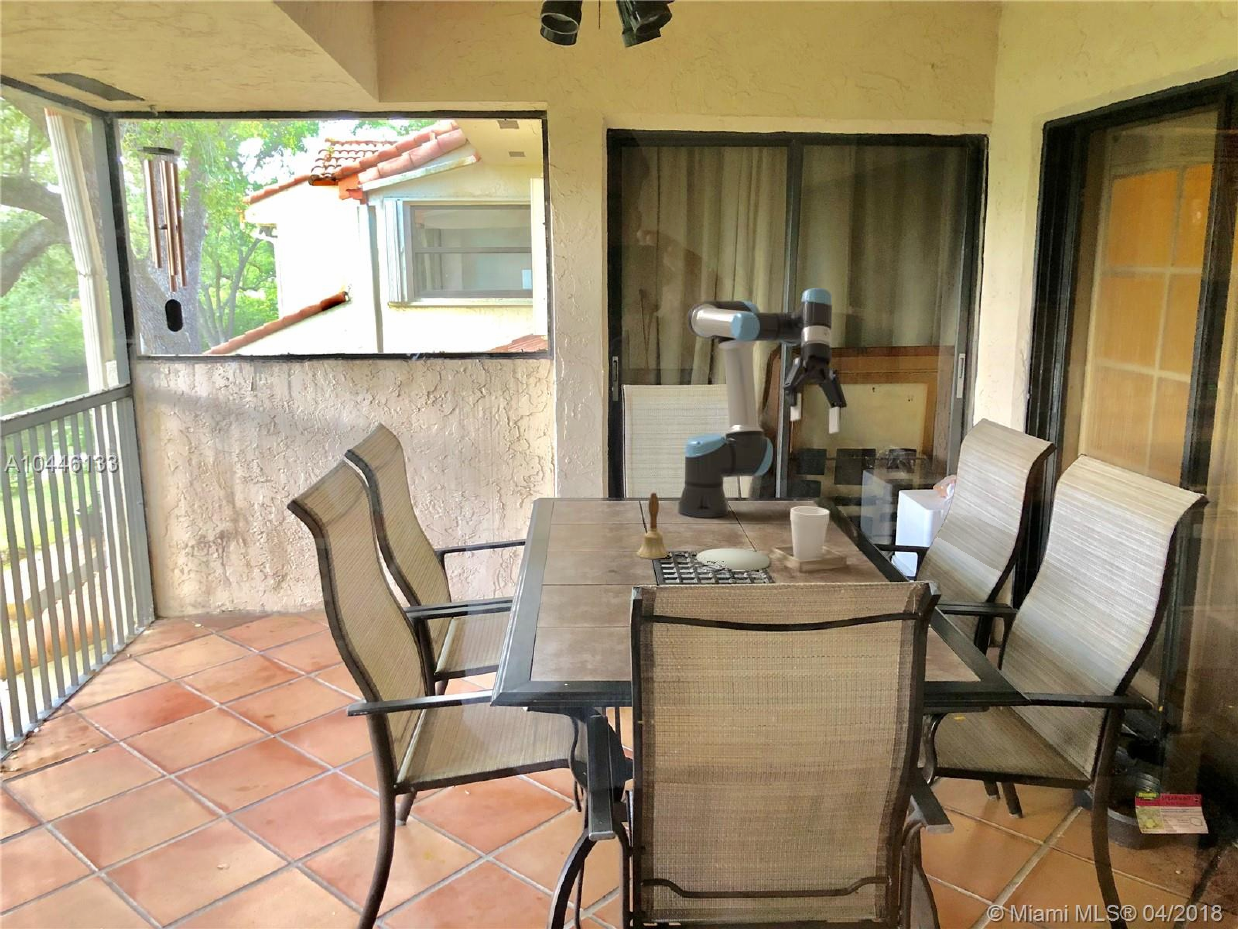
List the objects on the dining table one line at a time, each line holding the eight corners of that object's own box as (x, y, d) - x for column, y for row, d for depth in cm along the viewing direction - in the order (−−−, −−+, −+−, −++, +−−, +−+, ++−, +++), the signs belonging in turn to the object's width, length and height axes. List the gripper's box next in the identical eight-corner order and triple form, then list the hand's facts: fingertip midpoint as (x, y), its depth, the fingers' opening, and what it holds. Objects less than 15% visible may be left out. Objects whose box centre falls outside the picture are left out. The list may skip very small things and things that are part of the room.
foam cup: (826, 568, 219) (829, 516, 217) (787, 565, 221) (790, 513, 218) (825, 557, 228) (828, 507, 226) (788, 555, 230) (791, 505, 228)
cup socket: (768, 556, 228) (769, 547, 227) (814, 551, 233) (814, 542, 233) (799, 572, 216) (799, 562, 215) (846, 566, 221) (847, 556, 220)
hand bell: (659, 561, 222) (661, 498, 219) (630, 556, 226) (631, 493, 224) (675, 554, 229) (677, 492, 226) (647, 548, 233) (648, 488, 231)
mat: (681, 559, 225) (681, 556, 225) (729, 546, 236) (729, 544, 236) (736, 576, 211) (736, 573, 211) (784, 562, 223) (784, 560, 223)
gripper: (791, 328, 221) (789, 410, 215) (860, 356, 234) (861, 434, 229) (770, 337, 227) (767, 417, 221) (838, 364, 240) (838, 440, 235)
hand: (815, 426), depth 225 cm, fingers open, 13 cm apart
